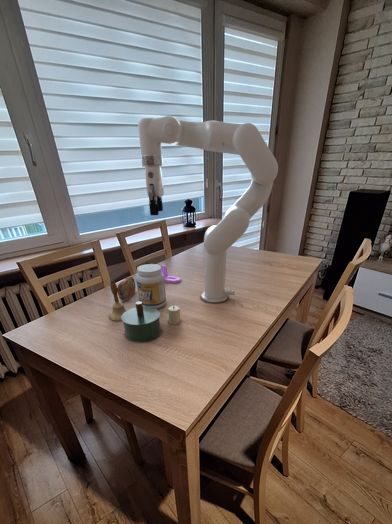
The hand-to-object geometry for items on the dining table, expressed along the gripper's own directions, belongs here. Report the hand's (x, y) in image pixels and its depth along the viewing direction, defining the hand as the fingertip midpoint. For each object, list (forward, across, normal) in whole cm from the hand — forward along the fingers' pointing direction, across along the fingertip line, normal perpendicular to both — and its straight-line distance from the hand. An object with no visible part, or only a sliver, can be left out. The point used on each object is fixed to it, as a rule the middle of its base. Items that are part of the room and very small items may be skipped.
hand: (156, 213), depth 111 cm
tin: (+37, 0, +18) cm, 41 cm away
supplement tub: (+37, -8, +4) cm, 38 cm away
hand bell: (+37, -20, +16) cm, 45 cm away
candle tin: (+37, -33, +3) cm, 49 cm away
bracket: (+37, +22, +1) cm, 43 cm away
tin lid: (+30, -33, +3) cm, 44 cm away
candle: (+37, -24, -8) cm, 44 cm away
